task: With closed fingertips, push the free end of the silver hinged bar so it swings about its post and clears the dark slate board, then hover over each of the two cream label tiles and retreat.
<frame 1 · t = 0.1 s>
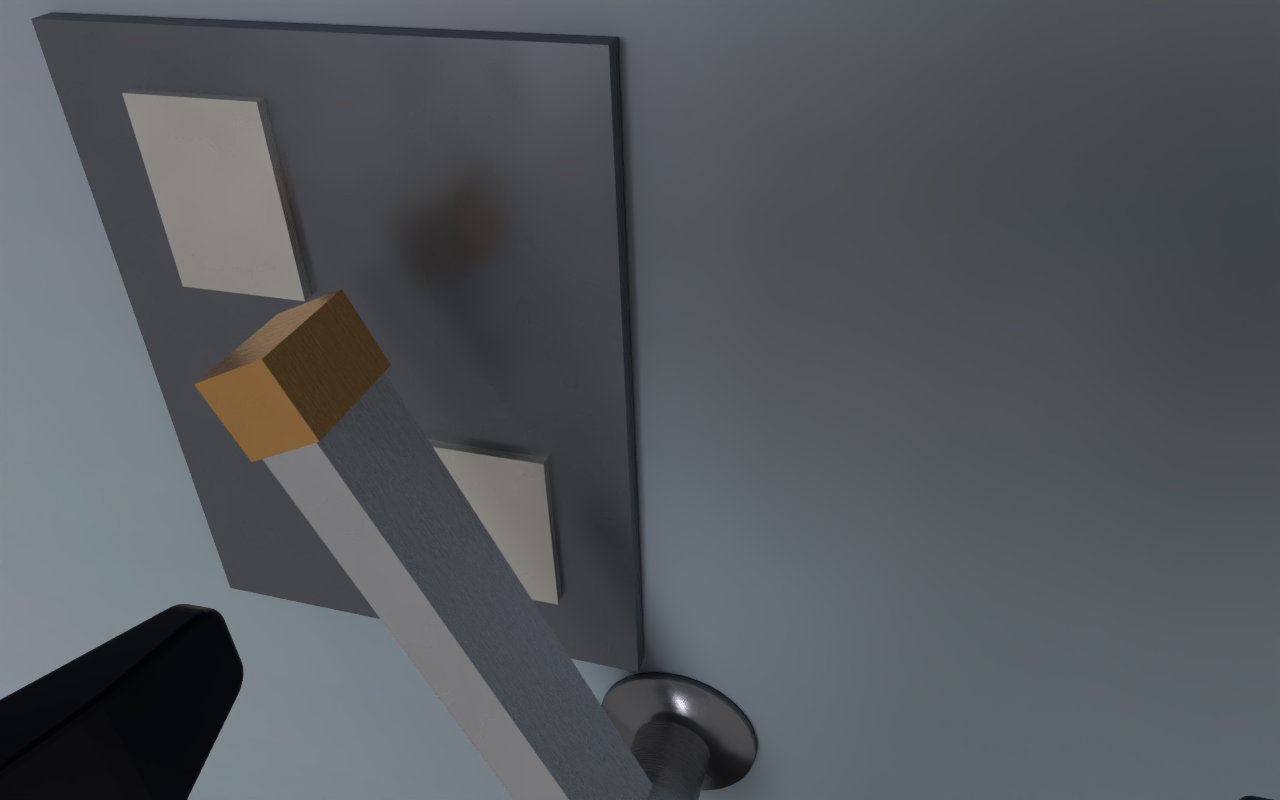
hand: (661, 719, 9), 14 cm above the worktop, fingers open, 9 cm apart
swing arm: (503, 629, 25), point 4 cm above the worktop, hinge at 0.0°
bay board: (382, 373, 27), on the worktop
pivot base: (677, 729, 32), on the worktop
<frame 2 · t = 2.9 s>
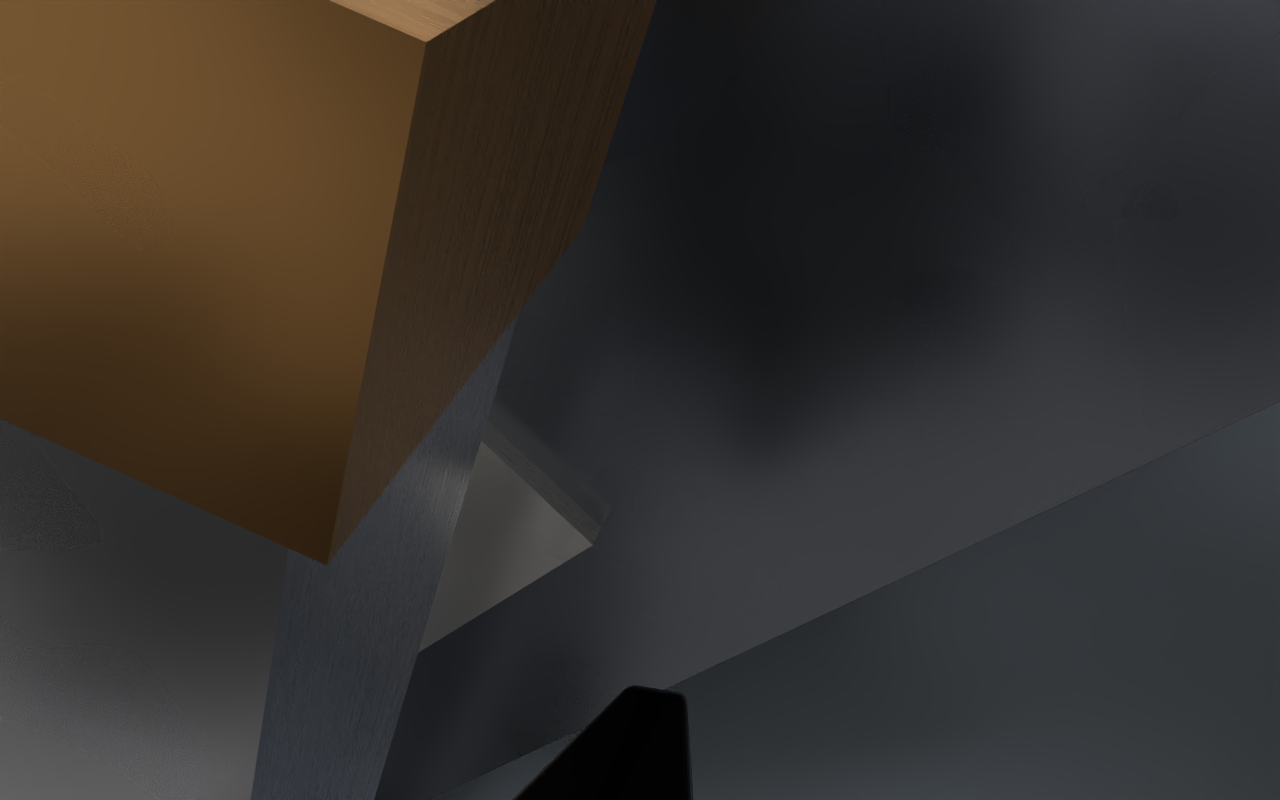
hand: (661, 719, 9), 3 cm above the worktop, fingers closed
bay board: (365, 75, 9), on the worktop
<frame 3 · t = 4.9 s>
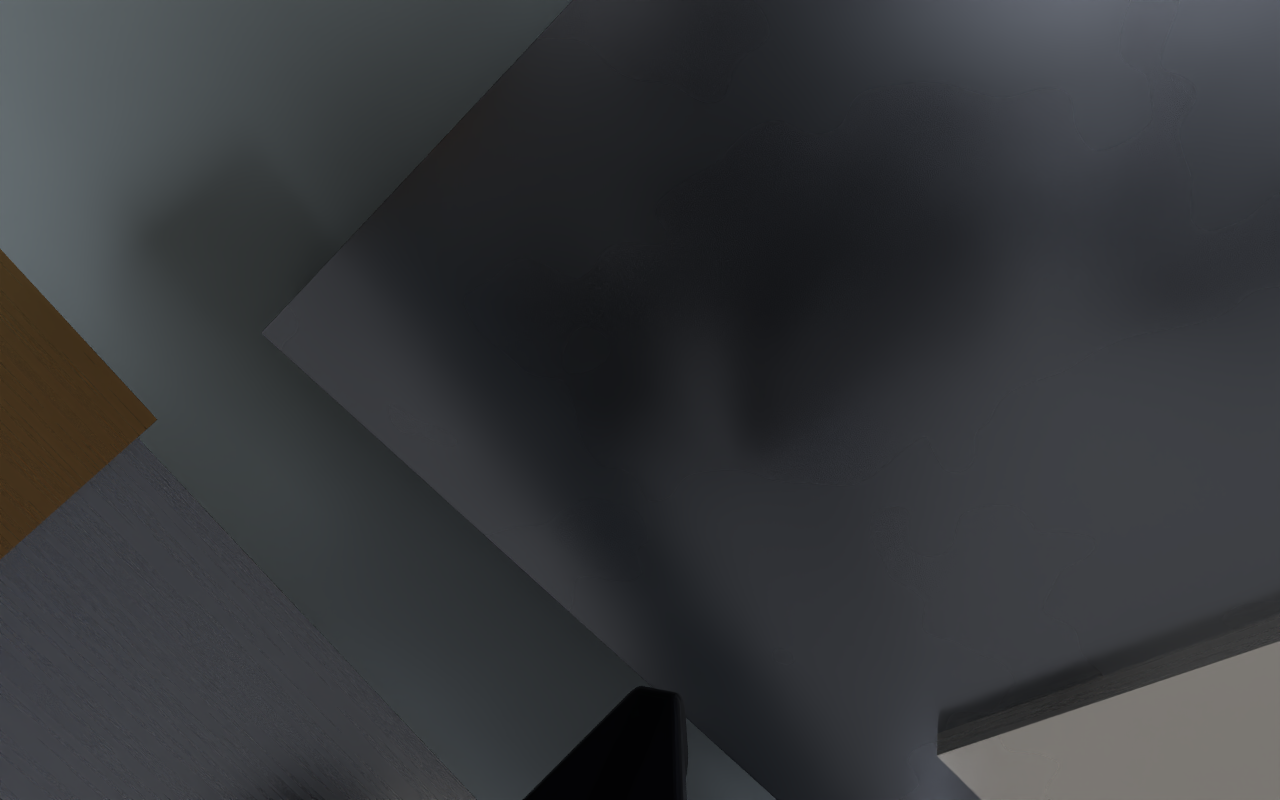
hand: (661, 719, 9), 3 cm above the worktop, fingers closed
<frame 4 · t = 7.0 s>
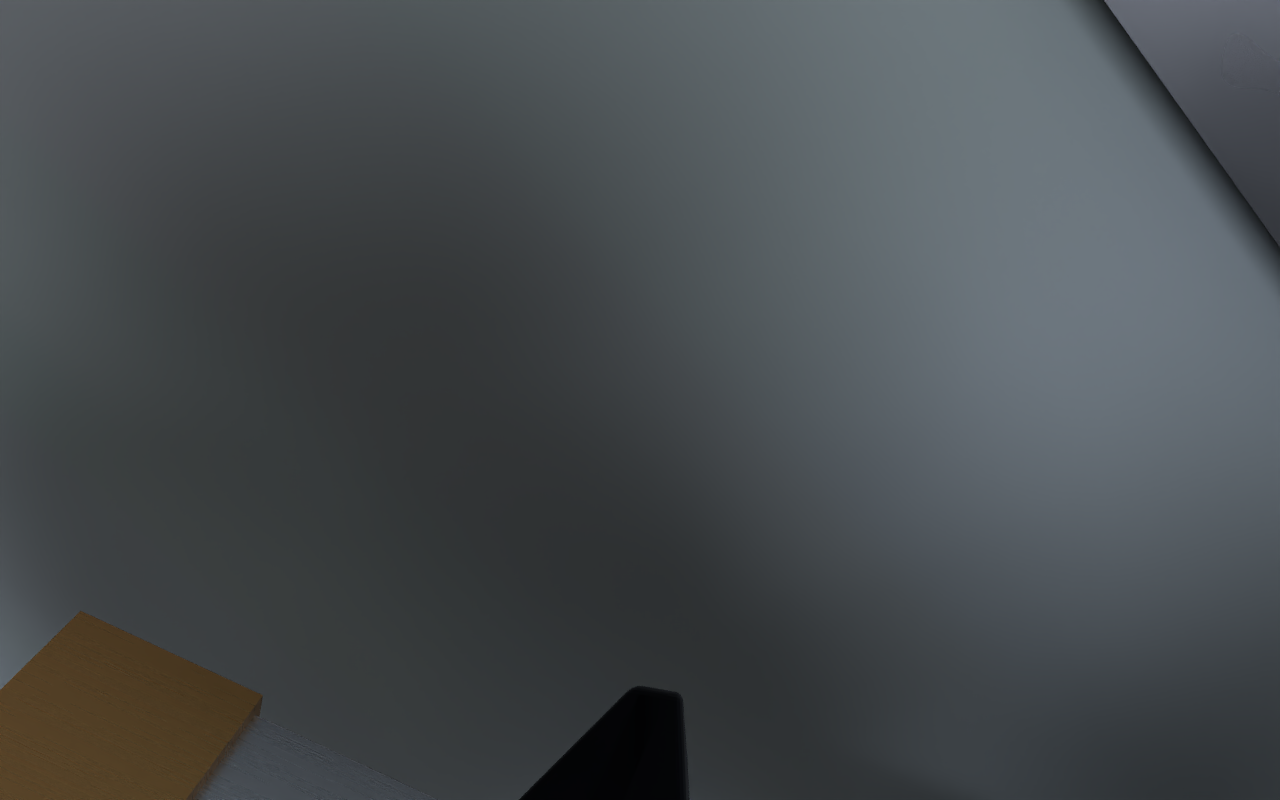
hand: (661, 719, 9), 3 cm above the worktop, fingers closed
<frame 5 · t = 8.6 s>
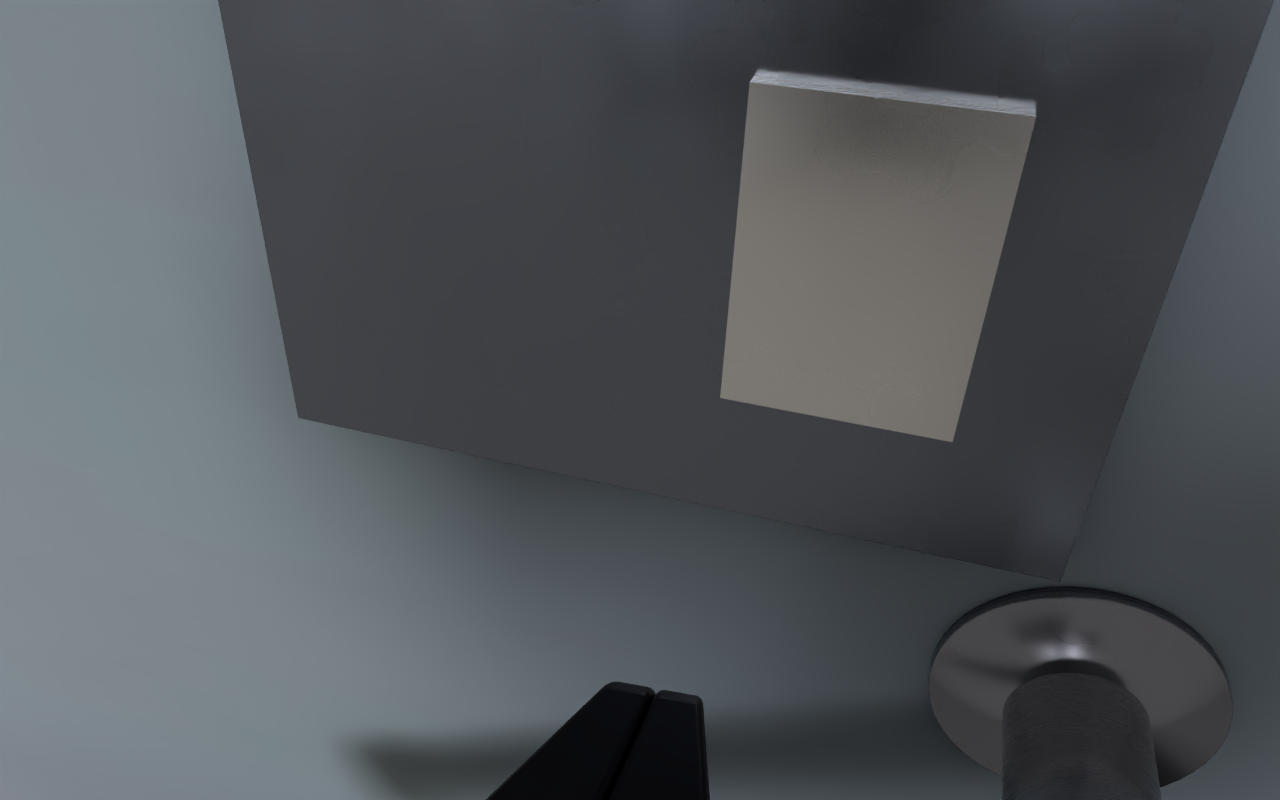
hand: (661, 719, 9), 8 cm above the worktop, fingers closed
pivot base: (1072, 691, 18), on the worktop
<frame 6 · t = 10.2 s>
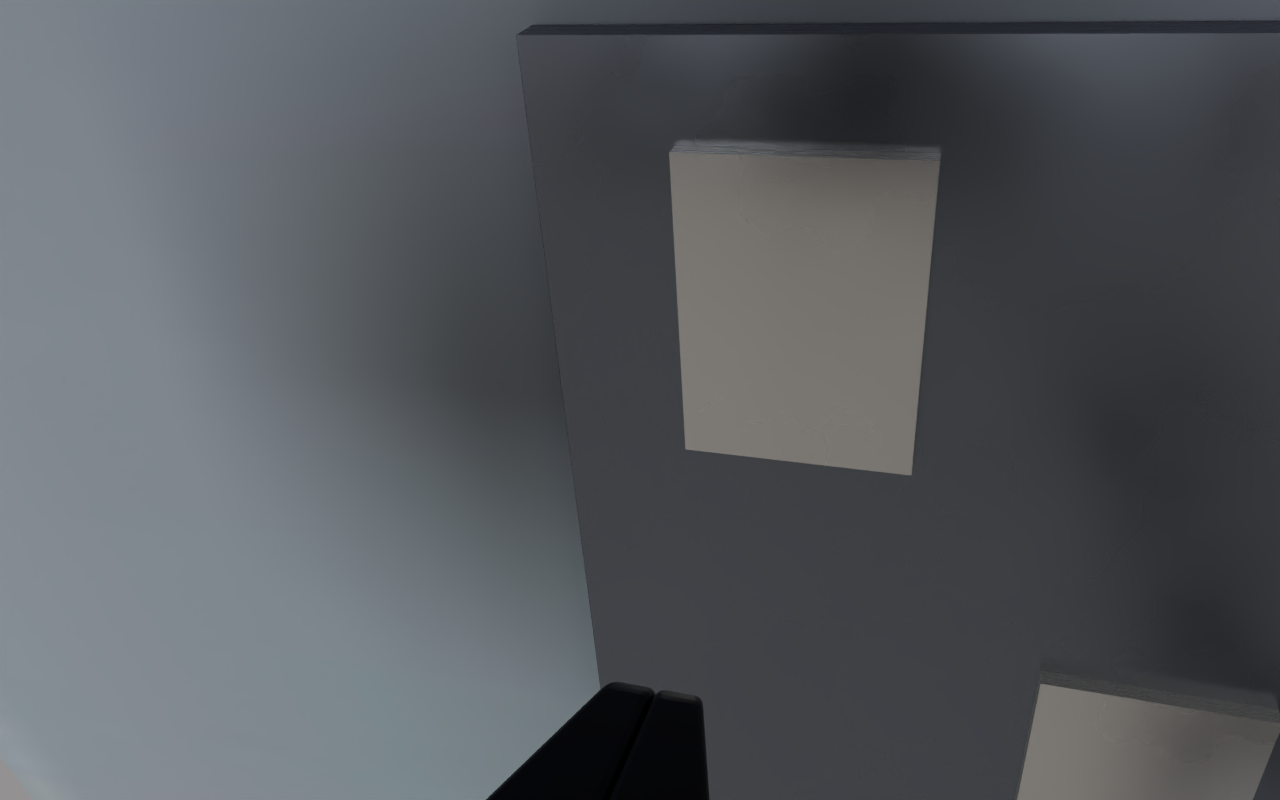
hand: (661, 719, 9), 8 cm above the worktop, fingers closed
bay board: (976, 570, 17), on the worktop
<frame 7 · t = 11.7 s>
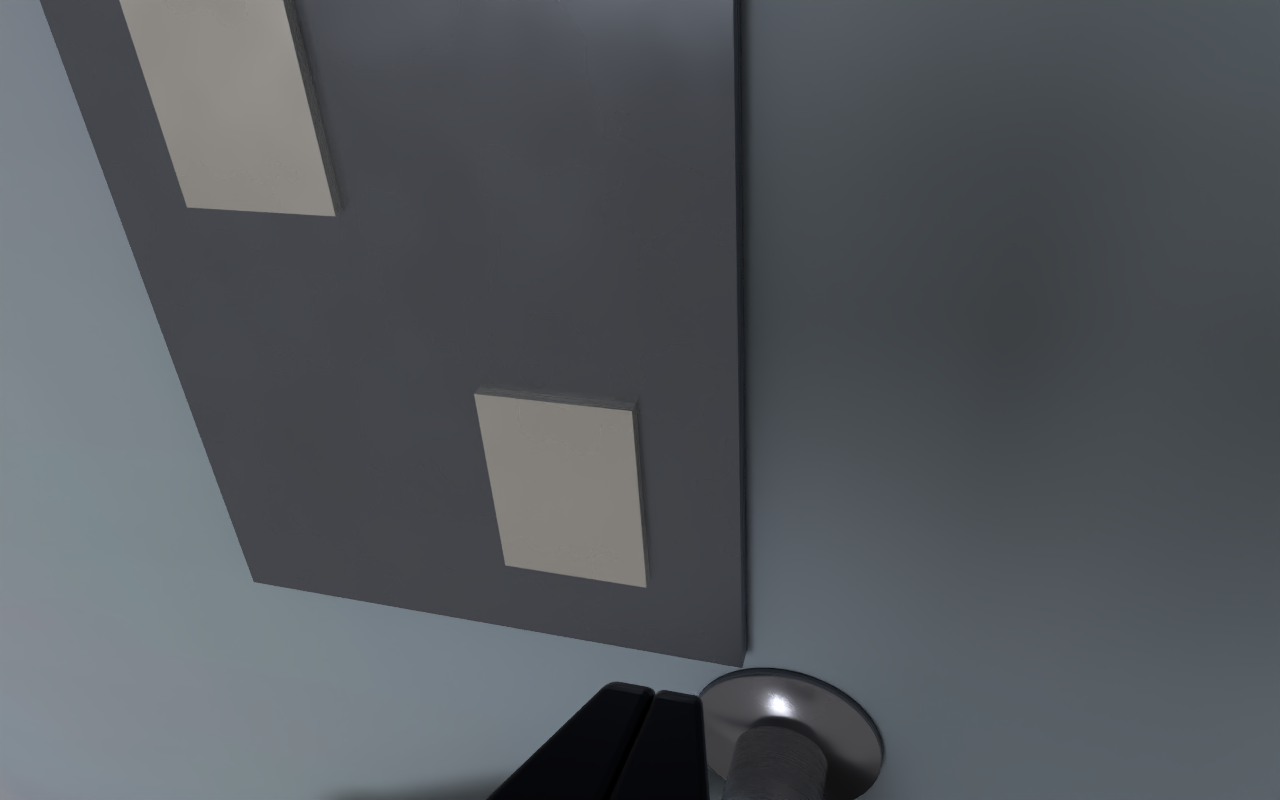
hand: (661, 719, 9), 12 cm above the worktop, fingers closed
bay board: (430, 309, 22), on the worktop
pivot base: (785, 736, 27), on the worktop
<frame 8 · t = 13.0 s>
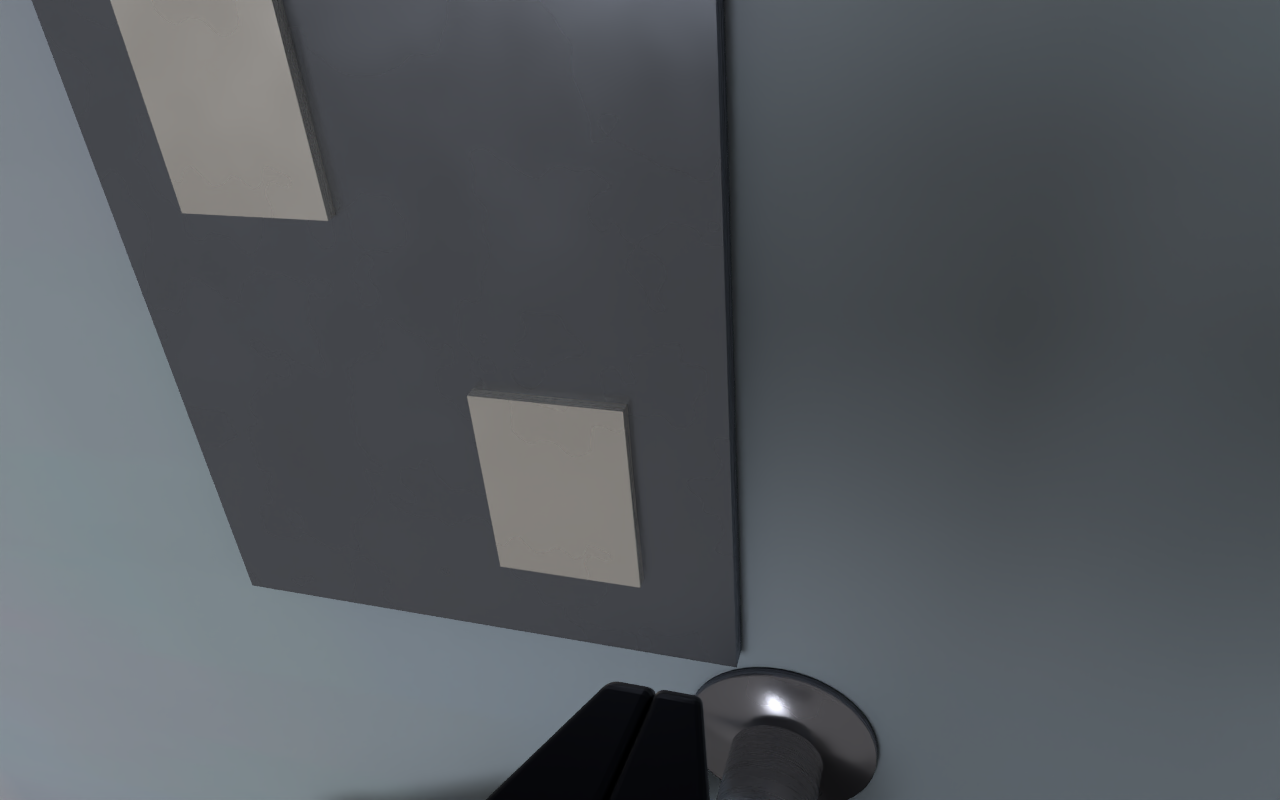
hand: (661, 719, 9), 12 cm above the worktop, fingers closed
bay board: (423, 312, 23), on the worktop
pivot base: (780, 735, 27), on the worktop
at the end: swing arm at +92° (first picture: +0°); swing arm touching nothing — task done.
